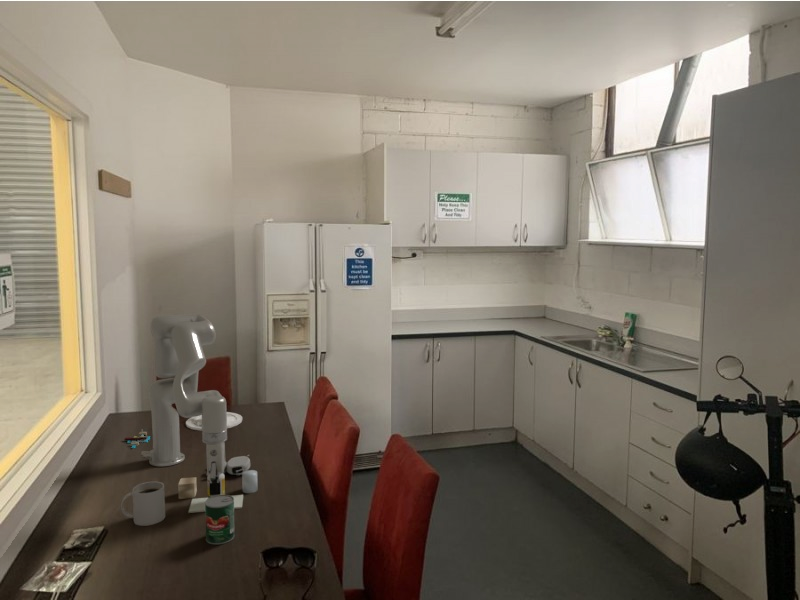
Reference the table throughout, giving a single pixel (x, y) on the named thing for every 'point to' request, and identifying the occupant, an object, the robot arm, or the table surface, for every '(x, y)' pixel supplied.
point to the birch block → (187, 488)
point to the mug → (147, 503)
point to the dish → (196, 421)
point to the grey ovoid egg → (249, 481)
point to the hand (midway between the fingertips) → (216, 489)
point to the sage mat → (199, 503)
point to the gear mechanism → (142, 437)
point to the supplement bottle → (222, 484)
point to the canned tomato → (219, 519)
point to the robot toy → (237, 465)
